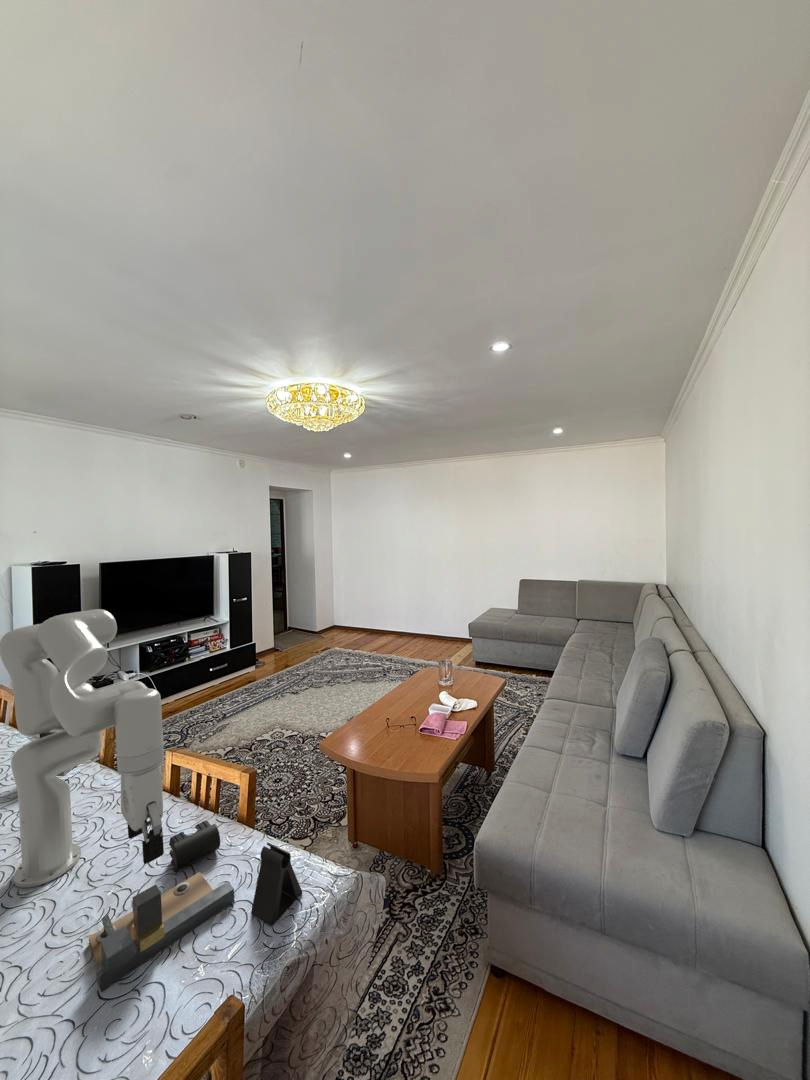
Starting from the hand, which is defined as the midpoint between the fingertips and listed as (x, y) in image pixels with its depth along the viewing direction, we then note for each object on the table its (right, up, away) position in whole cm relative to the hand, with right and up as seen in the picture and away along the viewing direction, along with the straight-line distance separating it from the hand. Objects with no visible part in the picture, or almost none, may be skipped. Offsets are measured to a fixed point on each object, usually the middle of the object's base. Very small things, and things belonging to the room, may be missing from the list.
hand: (145, 846), depth 80 cm
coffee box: (-67, -22, +63) cm, 95 cm away
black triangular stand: (+22, -20, +10) cm, 32 cm away
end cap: (-2, -21, +24) cm, 32 cm away
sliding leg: (-2, -19, +3) cm, 19 cm away
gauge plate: (-3, -21, +8) cm, 22 cm away
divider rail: (+1, -21, +6) cm, 22 cm away
